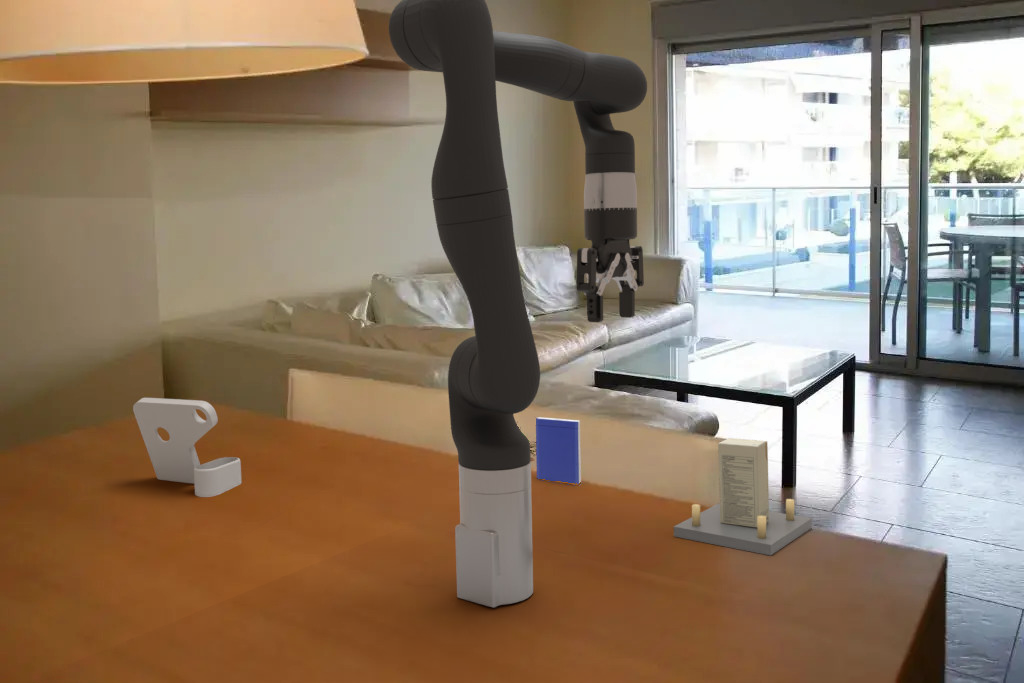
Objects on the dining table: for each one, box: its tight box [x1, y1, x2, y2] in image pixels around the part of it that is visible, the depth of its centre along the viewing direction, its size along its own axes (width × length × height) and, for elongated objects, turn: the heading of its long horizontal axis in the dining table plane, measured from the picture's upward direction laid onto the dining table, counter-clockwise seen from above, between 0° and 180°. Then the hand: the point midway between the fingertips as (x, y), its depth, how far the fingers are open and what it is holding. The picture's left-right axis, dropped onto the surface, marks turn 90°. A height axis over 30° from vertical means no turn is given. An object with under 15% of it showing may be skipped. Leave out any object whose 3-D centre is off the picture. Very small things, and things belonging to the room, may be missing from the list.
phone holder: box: [132, 397, 242, 498], centre depth 170 cm, size 17×10×18 cm, turn 69°
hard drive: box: [535, 416, 582, 484], centre depth 170 cm, size 2×8×12 cm, turn 61°
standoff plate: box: [673, 498, 813, 556], centre depth 143 cm, size 15×15×4 cm
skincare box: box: [717, 437, 770, 527], centre depth 143 cm, size 6×4×12 cm
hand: (611, 319), depth 140 cm, fingers open, 8 cm apart
